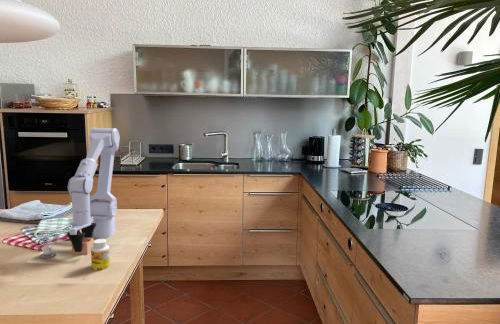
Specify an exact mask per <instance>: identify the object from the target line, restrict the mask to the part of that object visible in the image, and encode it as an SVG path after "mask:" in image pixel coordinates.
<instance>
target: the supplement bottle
mask: <svg viewBox="0 0 500 324" xmlns="http://www.w3.org/2000/svg"><path fill="white" fill-rule="evenodd" d="M107 242H108V241H107V239H106V238H105V239H94V241H93V247H92V248H91V252H90V257H91V261H90V262H91V263H90V264H91V270H94V271H103V270H107V269H109V268H110V266H111V260H110V257H111V256H110V255H111V254H110V246H109V245H108V244H107Z"/></svg>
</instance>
